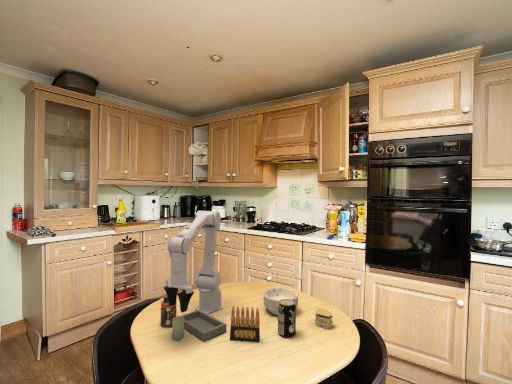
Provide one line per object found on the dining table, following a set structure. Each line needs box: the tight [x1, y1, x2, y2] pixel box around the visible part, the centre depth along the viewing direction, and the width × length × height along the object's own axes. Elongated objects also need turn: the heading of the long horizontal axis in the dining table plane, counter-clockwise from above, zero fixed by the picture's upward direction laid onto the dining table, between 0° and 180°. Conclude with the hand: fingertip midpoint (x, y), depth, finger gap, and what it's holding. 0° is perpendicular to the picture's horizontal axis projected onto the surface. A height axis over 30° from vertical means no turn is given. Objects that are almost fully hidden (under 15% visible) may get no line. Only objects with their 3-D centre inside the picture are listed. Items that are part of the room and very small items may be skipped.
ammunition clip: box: [229, 305, 261, 343], centre depth 101 cm, size 11×2×12 cm, turn 84°
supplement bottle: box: [160, 293, 177, 328], centre depth 112 cm, size 6×6×11 cm
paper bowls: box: [263, 287, 299, 316], centre depth 126 cm, size 15×15×8 cm
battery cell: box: [171, 315, 185, 342], centre depth 102 cm, size 4×4×8 cm
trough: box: [181, 309, 227, 343], centre depth 109 cm, size 10×18×3 cm, turn 47°
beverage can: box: [277, 299, 297, 338], centre depth 106 cm, size 7×7×12 cm
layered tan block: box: [314, 307, 334, 330], centre depth 113 cm, size 10×9×6 cm
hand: (178, 308), depth 102 cm, fingers open, 7 cm apart
